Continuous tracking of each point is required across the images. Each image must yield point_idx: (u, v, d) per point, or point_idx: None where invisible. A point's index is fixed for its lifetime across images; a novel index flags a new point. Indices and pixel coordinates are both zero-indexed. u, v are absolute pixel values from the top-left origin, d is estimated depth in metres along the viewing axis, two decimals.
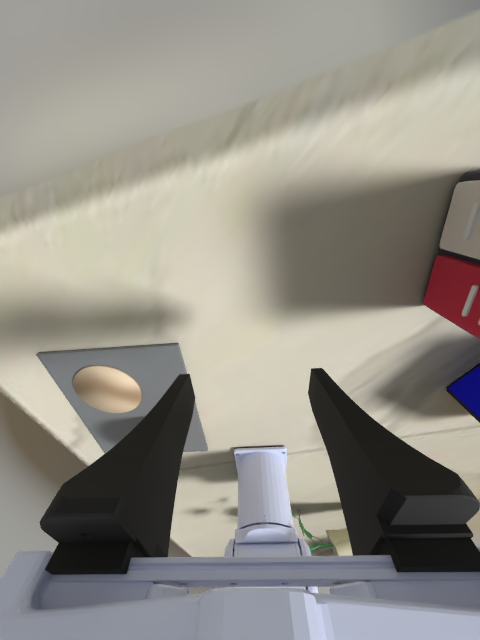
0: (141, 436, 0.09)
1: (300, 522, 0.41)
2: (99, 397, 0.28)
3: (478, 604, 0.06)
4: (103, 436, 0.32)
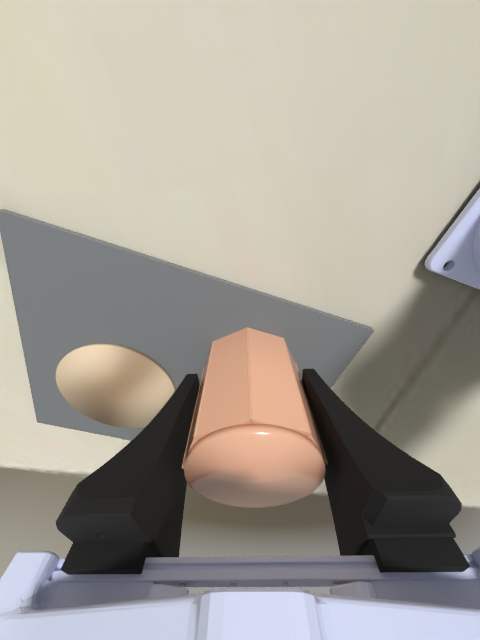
0: (153, 436, 0.09)
1: None
2: (129, 408, 0.16)
3: (478, 604, 0.06)
4: None
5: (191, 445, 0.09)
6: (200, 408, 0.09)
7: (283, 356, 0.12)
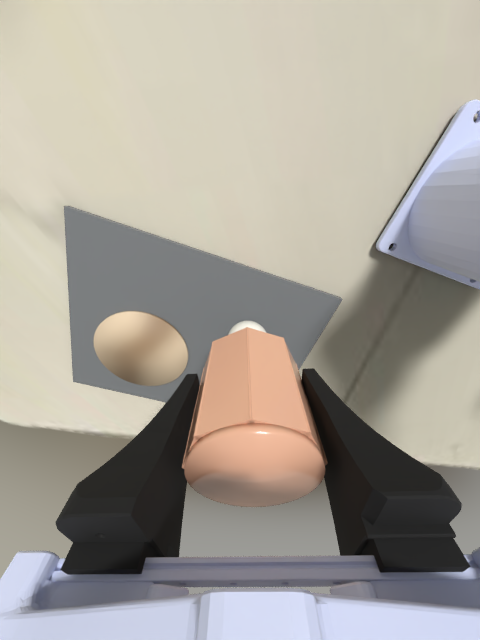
0: (153, 436, 0.09)
1: None
2: (150, 367, 0.20)
3: (478, 604, 0.06)
4: None
5: (191, 445, 0.09)
6: (200, 408, 0.09)
7: (283, 356, 0.12)
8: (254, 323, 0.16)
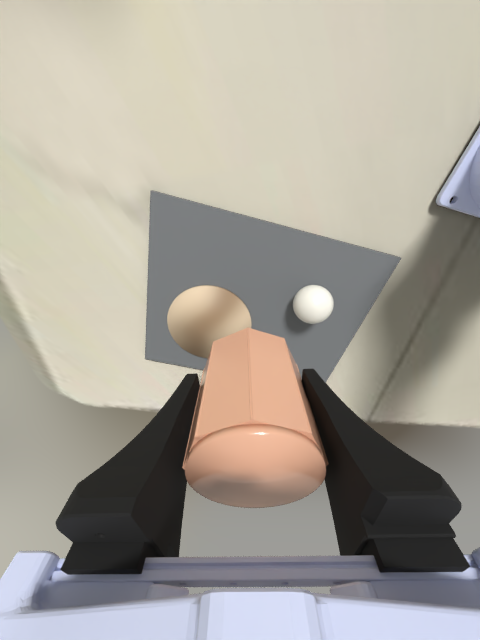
0: (152, 436, 0.09)
1: None
2: (216, 339, 0.22)
3: (478, 604, 0.06)
4: None
5: (192, 445, 0.09)
6: (201, 408, 0.09)
7: (284, 356, 0.12)
8: (319, 286, 0.18)
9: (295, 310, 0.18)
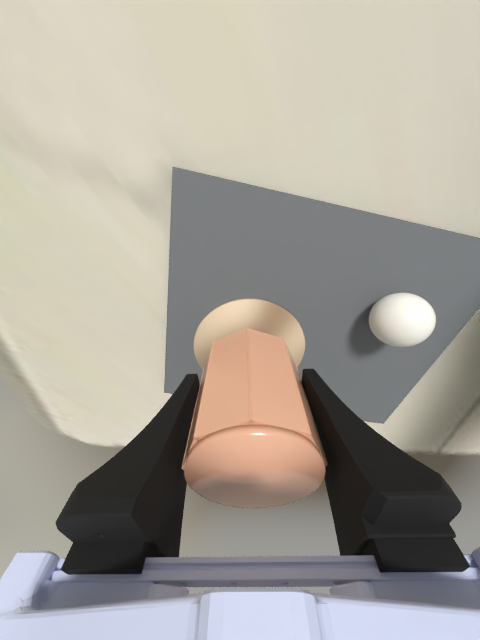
0: (153, 436, 0.09)
1: None
2: None
3: (478, 604, 0.06)
4: None
5: (191, 446, 0.09)
6: (200, 409, 0.09)
7: (283, 357, 0.12)
8: (413, 294, 0.12)
9: (377, 329, 0.13)
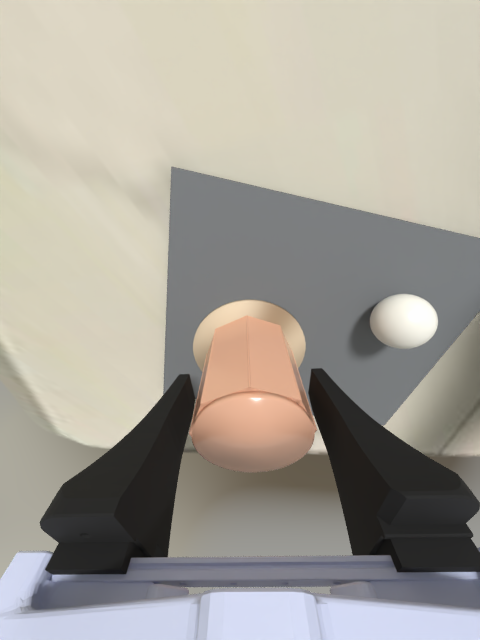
0: (141, 436, 0.09)
1: None
2: None
3: (478, 604, 0.06)
4: None
5: (198, 412, 0.10)
6: (205, 382, 0.11)
7: (279, 340, 0.13)
8: (414, 295, 0.12)
9: (378, 331, 0.13)
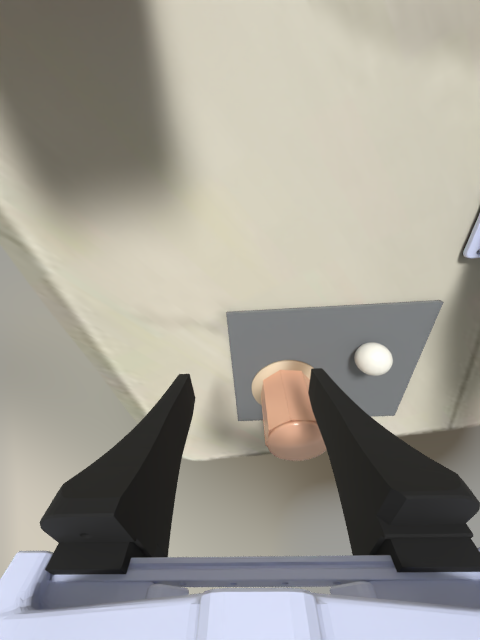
0: (141, 436, 0.09)
1: None
2: None
3: (478, 604, 0.06)
4: None
5: (268, 434, 0.20)
6: (267, 417, 0.21)
7: (302, 383, 0.23)
8: (375, 344, 0.21)
9: (359, 368, 0.22)
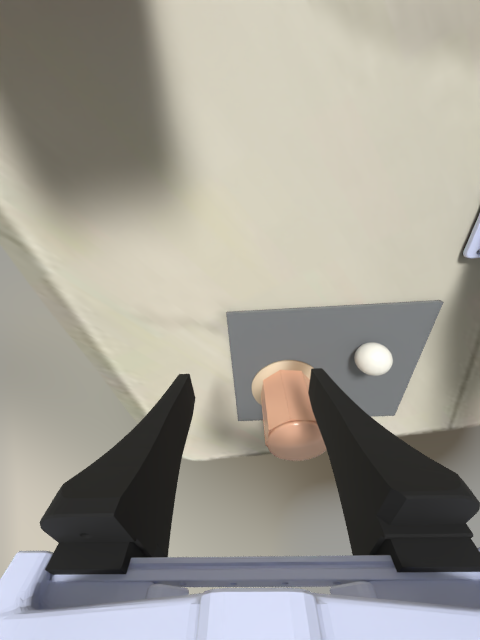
0: (141, 436, 0.09)
1: None
2: None
3: (478, 604, 0.06)
4: None
5: (268, 434, 0.20)
6: (267, 417, 0.21)
7: (302, 383, 0.23)
8: (375, 344, 0.21)
9: (359, 368, 0.22)
